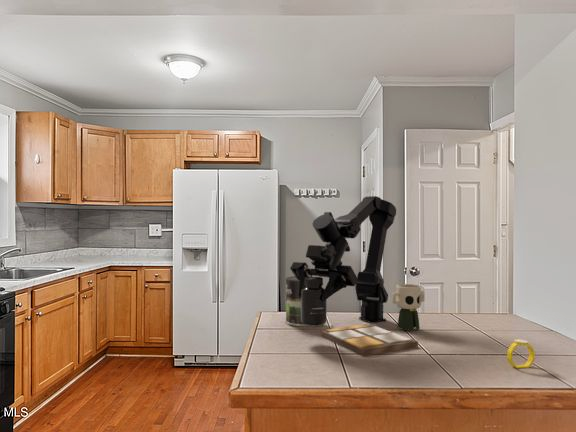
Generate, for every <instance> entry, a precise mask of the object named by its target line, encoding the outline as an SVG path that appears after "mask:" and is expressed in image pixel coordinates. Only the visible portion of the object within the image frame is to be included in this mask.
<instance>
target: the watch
mask: <svg viewBox="0 0 576 432" xmlns="http://www.w3.org/2000/svg"><path fill="white" fill-rule="evenodd" d="M518 346H523V347H524V346H525V347H526V348H527V349H528V353H529V354H528V355H529V356H528V359H527V361H526V362H525V363H524V364H515V363H514V359H513V353H514V351H515V349H516V348H517V347H518ZM535 354H536V353H535V350H534V347H533V345H531V344H530V343H529V341H527V340H524V339H518V338H517V339H514V340H513V343H511V344H510V345H509V347H508V349H507V350H506V358H507V362H508V363H509V365H511V367H513V368H515V369H528V368H530V367H531V366H532V365H533V363H534V361H535V359H536V358H535V357H536V355H535Z"/></svg>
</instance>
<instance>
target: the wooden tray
mask: <svg viewBox="0 0 576 432" xmlns="http://www.w3.org/2000/svg"><path fill="white" fill-rule="evenodd" d="M320 332H321V334H320V335H321V337H322V338H324V339H326V340H328V341H330V342H333V343H334V344H337V345H339V346H340V347H341V346H342V347H343V348H345V349H348V350H349V351H352V352H354V353H356V354H358V355H360V356H362V357H364V356H372V355H376V354H384V353H389V352H395V350H396V351H401V350H402V349H403V350H407V349H413V348H418V347H419V340H417V339H416V340H415V339H412V338H411V337H408V336H405V335H402V334H399V333H397V332H393V331H390V330H388V329H386V328H383V327H380V326H376V325H374V324H367V323H366V324H359V325H357V324H356V325H351V326H342V327H335V328H333V327H332V328H327V329H326V328H325V329H324V330H321V331H320Z"/></svg>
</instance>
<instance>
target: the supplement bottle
mask: <svg viewBox="0 0 576 432" xmlns="http://www.w3.org/2000/svg"><path fill="white" fill-rule="evenodd" d="M305 285H306V287H304V288H303V289H302V290H301V322H302V323H303V324H305V325H312V326H316V327H317V326H322V325H323V326H324V325H325V324H326V323H327V314H328V313H327V312H328V311H327V303H328V302H327V300H328V298H327V299H326V300H325V301H322V300H321V297H322V294H323V292H324V290H325V288H324V287H323V285H324V277H319V276H312V277H306V278H305ZM312 326H311V327H312Z"/></svg>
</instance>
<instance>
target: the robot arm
mask: <svg viewBox="0 0 576 432" xmlns="http://www.w3.org/2000/svg"><path fill="white" fill-rule="evenodd" d="M396 215H397V207H396V206H395V205H394V204H393V203H392V202H390V201H387V200H385V199H382V198H381V197H380V196H375V195H372V196H371V195H370V196H365V197H363V198H362V200H361V202H359V203H358V204H357V205H356V206H355V207H354V208H353V209H352V210H351V211H350V212H349V213H347V214H344V215H340V216H338V217H336V218H334V215H333V214H332V212H331V211H325V212H324V213H323V214H321V215H319V216H318V217H316V218H315V219H313V222H312V227H313V229H314V230H315V232H316V234H317V235H318V237H319V239H320V240H321V241H322V242H323V243H325V245H317V244H314V245H312V244H309V245H307V250H306V254H305V257H306V258H309V259H310V260H311V262H310V263H311V265H312V266H314V267H309V265H308V264H307V262H304V261H303V262H301V261H300V262H299V261H293V262H292V264H291V266H290V267H289V269H290V271H291V272H292V274H293V275H294V276H295V277H296V278H297V279H298V280H299V281H300V285H299V298H301V290H302V289H303V288H304V287H306V285H305V278H306V277H321V278H327V279H328V282H327V283H326V286H325V288H324V289H325V290H324V292H323V294H322V297H321V300H322V301H325V300H326V299H327V300H328V299H329V298H330V297H331V296H333V295H334V294H336V293H337V292H339V291H340V290H342V289H343V288H345V289H346V288H347V287H355V294H356V298H357V301H361V305H360V316H359V317H358V319H359V320H363V322H364V321H365V322H368V323H377V322H386V321H387V318H384V304H386V303H387V302H388V300H389V294H388V292H387V289H386V288H385V286H384V282H385V281H384V278H383V275H382V273H381V269H382V268H381V267H382V263H383V256H384V250H385V243H386V238H387V233H388V229H390V227H391V226H392V225H393V224H394V221H395V217H396ZM367 219H368V220H369V222H370V224H371V226H372V227H371V235H370V239H369V244H368V250H367V256H366V262H365V268H364V269H363V270H362V271H358V273H357V275H356V273H355V271H354V270H353V267H352V266H351V265H346V264H345V265H344V264H343V262H342V258H343V256H344V255H345V252H350V251H351V248H350V244H349V241H348V240H347V239H355V238H356V237H357V236H358V235H359V233H360V231H361V224H362V223H364V222H365V221H366V220H367Z"/></svg>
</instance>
